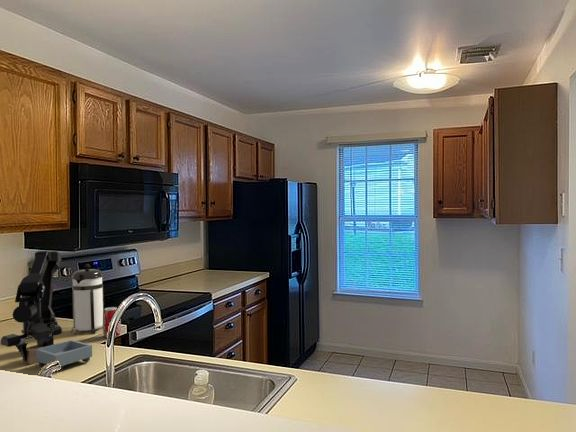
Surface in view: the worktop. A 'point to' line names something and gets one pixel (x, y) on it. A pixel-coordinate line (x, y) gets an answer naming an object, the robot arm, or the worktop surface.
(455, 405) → the worktop surface
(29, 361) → the walnut block
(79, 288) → the coffee press
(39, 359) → the cart
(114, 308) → the soda can
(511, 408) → the worktop surface
